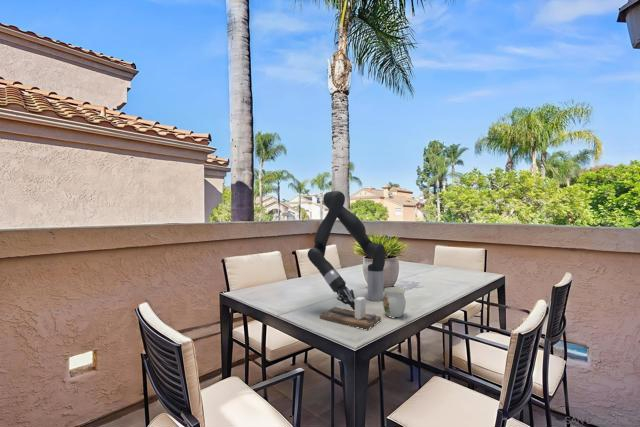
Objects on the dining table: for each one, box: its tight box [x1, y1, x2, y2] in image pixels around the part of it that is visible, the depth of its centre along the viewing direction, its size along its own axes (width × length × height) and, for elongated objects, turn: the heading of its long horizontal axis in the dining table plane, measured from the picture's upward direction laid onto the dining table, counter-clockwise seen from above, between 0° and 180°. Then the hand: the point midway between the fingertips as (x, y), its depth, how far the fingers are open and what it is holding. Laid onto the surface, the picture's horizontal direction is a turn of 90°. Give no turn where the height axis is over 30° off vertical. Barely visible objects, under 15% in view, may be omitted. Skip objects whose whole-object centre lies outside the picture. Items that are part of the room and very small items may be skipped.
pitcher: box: [382, 286, 406, 318], centre depth 157 cm, size 11×18×14 cm, turn 15°
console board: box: [319, 306, 382, 330], centre depth 151 cm, size 14×26×4 cm, turn 55°
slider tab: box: [354, 296, 366, 319], centre depth 148 cm, size 5×3×9 cm, turn 145°
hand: (356, 309), depth 149 cm, fingers closed
